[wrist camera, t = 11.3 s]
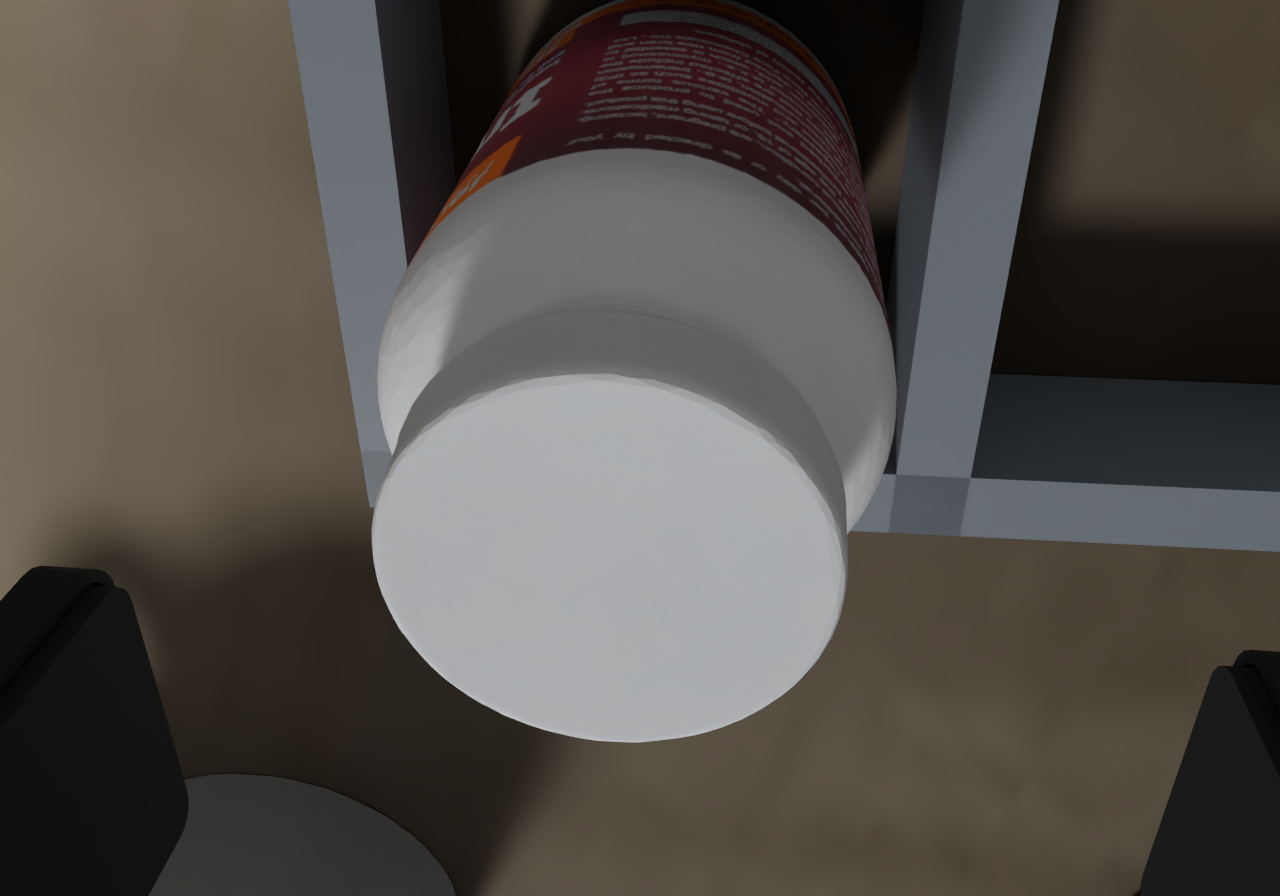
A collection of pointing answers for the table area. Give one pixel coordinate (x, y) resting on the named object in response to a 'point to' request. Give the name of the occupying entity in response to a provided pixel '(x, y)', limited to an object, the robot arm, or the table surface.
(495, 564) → the pill bottle
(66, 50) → the table surface
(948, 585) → the table surface
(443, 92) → the compartment rack
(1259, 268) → the table surface
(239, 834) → the coffee mug
